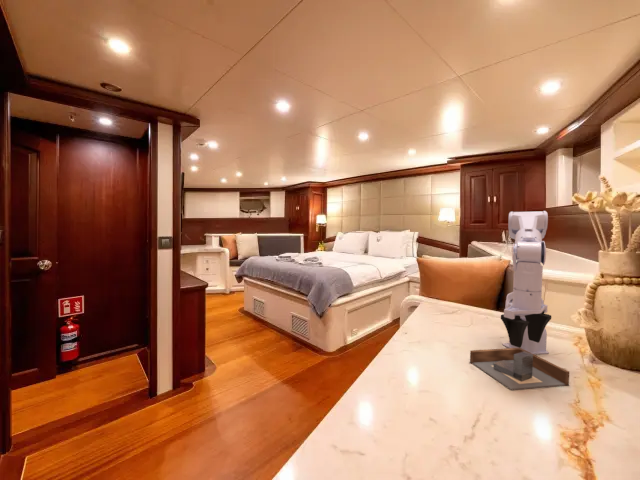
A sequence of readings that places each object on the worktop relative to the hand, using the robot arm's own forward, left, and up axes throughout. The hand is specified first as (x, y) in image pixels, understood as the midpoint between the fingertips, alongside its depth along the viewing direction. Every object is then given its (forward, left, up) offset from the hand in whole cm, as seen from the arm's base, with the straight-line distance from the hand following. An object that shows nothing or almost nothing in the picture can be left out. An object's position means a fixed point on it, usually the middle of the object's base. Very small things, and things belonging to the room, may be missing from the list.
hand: (525, 343), depth 69 cm
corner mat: (-1, -3, -9) cm, 10 cm away
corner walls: (-1, -3, -9) cm, 10 cm away
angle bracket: (+1, -3, -9) cm, 9 cm away
